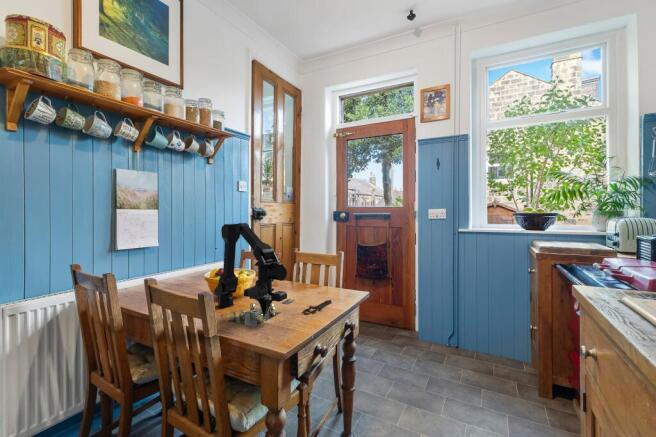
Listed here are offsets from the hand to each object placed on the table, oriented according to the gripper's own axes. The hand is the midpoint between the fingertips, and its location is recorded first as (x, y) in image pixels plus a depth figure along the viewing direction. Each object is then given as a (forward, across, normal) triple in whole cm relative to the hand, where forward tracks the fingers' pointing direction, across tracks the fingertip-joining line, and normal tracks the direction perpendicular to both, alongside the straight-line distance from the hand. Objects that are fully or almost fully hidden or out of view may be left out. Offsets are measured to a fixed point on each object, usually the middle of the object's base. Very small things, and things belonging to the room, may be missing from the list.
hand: (265, 314), depth 128 cm
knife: (+3, +12, +24) cm, 27 cm away
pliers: (+3, -6, +19) cm, 20 cm away
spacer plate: (+2, -6, 0) cm, 6 cm away
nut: (+2, -5, 0) cm, 5 cm away
